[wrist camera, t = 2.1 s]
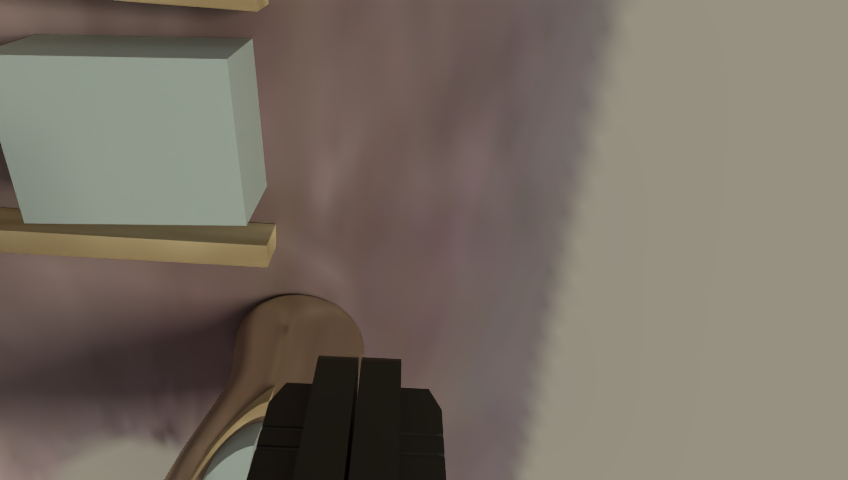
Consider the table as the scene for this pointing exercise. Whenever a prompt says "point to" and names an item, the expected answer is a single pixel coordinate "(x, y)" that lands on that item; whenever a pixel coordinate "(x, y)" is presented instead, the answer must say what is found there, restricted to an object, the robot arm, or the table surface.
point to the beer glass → (264, 380)
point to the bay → (147, 241)
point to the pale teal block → (132, 129)
